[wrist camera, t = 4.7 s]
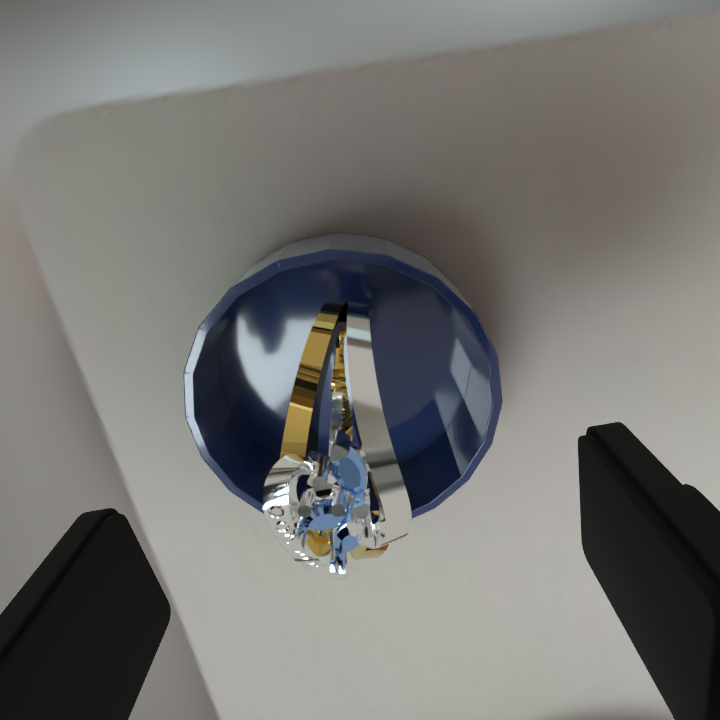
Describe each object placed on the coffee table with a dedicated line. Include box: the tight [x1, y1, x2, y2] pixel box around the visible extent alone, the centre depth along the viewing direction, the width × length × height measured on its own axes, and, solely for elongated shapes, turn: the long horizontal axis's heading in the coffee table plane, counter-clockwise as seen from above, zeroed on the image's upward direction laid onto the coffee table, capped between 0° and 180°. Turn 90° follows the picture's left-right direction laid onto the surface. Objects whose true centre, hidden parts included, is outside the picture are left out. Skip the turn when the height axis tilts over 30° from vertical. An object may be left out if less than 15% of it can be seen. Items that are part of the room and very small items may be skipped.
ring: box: [262, 300, 412, 581], centre depth 13 cm, size 7×3×8 cm, turn 174°
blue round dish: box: [184, 233, 503, 518], centre depth 16 cm, size 9×9×3 cm
